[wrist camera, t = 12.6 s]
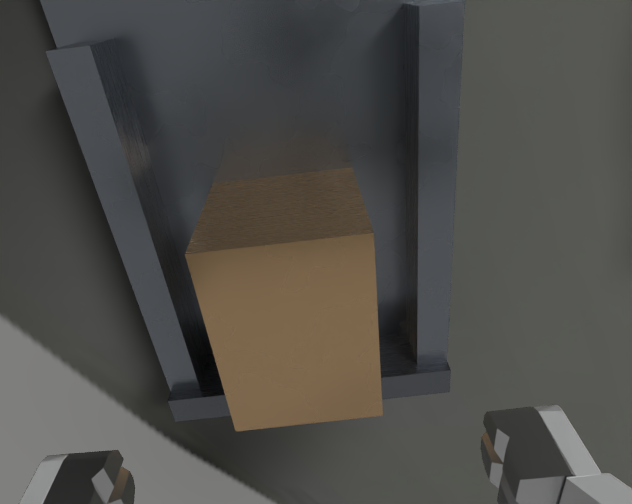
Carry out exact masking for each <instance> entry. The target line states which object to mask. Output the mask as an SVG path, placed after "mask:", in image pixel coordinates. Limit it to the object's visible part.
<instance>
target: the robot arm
mask: <svg viewBox="0 0 632 504" xmlns="http://www.w3.org/2000/svg"><path fill="white" fill-rule="evenodd" d="M483 424H484V426H485V428H486V431H487V432H485V433H484V434H483V435H482V437H481V452H482V459H483V463H484V467H485V470H486V473H487V476H488V478H489V481H490V482H492V483H493V484H494V485H495V486H496V487H498V488H499V491H498V498H497V502H498V504H632V489H631V488H630V487H629V486H627V485H626V484H624V483H623V482H621V481H620V480H618V479H617V478H616V477H614V476H613V475H611V474H610V473H601V472H600V470H599V468H598V467H597V465H596V463H595V462H594V460H593V459H592V457H591V455H590V454H589V452H588V451H587V449H586V447H585V446H584V444H583V442H582V441H581V439H580V438H579V436H578V434H577V433H576V431H575V429H574V428H573V426H572V425H571V423H570V421H569V420H568V418H567V417H566V415H565V413H564V412H563V410H562V409H561V408H560V407H559V406H558V405H547V406H538V407H523V408H515V409H506V410H497V411H489V412H486V414H485V415H484V421H483ZM122 462H123V457H122V456H121V454H120V452H119V451H118V450H112V451H99V452H87V453H74V454H61V455H51V456H47V457H46V458H45V459H44V460H43V461H42V462H41V463H40V464H39V466H38V468H37V470H36V472H35V474H34V476H33V478H32V480H31V482H30V483H29V485H28V487H27V489H26V491H25V493H24V495H23V497H22V499H21V501H20V503H19V504H134V494H135V485H134V480H133V477H132V475H131V473H130V471H128V470H126V469H124V468H123V467H121V465H122Z"/></svg>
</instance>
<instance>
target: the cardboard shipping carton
mask: <svg viewBox="0 0 632 504" xmlns="http://www.w3.org/2000/svg"><path fill="white" fill-rule="evenodd" d="M185 257H186V260H187V264H188V267H189V271H190V274H191V278H192V281H193V285H194V288H195V292H196V295H197V299H198V302H199V306H200V309H201V313H202V316H203V320H204V323H205V327H206V330H207V334H208V337H209V341H210V344H211V347H212V351H213V354H214V358H215V361H216V365H217V368H218V372H219V375H220V379H221V382H222V386H223V389H224V393H225V396H226V400H227V403H228V407H229V410H230V414H231V417H232V421H233V424H234V428H235V431H245V430H255V429H264V428H273V427H282V426H291V425H301V424H310V423H319V422H328V421H337V420H347V419H356V418H365V417H374V416H383V412H382V391H381V370H380V349H379V329H378V308H377V287H376V266H375V245H374V232H373V229H372V226H371V223H370V220H369V216H368V213H367V210H366V207H365V204H364V201H363V198H362V195H361V192H360V189H359V186H358V183H357V180H356V177H355V174H354V171H353V168H344V169H335V170H327V171H318V172H309V173H301V174H292V175H283V176H275V177H266V178H258V179H249V180H240V181H232V182H223V183H215V184H212V187H211V189H210V192H209V194H208V197H207V200H206V202H205V205H204V207H203V210H202V212H201V215H200V217H199V220H198V222H197V225H196V227H195V230H194V232H193V235H192V237H191V240H190V243H189V245H188V248H187V250H186V253H185Z"/></svg>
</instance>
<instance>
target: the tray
mask: <svg viewBox="0 0 632 504" xmlns="http://www.w3.org/2000/svg"><path fill="white" fill-rule="evenodd" d="M40 2H41V5H42V7H43V10H44V13H45V16H46V19H47V21H48V24H49V27H50V30H51V33H52V35H53V38H54V41H55V44H56V47H57V48H55V49H51V50H47V51H45V52H46V55H47V57H48V60H49V63H50V65H51V68H52V71H53V74H54V76H55V79H56V82H57V85H58V87H59V90H60V93H61V95H62V98H63V101H64V104H65V106H66V109H67V112H68V114H69V117H70V120H71V123H72V125H73V128H74V131H75V133H76V136H77V139H78V142H79V144H80V147H81V150H82V152H83V155H84V158H85V161H86V163H87V166H88V169H89V171H90V174H91V177H92V180H93V182H94V185H95V188H96V190H97V193H98V196H99V199H100V201H101V204H102V207H103V209H104V212H105V215H106V218H107V220H108V223H109V226H110V228H111V231H112V234H113V237H114V239H115V242H116V245H117V247H118V250H119V253H120V256H121V258H122V261H123V264H124V266H125V269H126V272H127V275H128V277H129V280H130V283H131V285H132V288H133V291H134V294H135V296H136V299H137V302H138V304H139V307H140V310H141V313H142V315H143V318H144V321H145V323H146V326H147V329H148V332H149V334H150V337H151V340H152V342H153V345H154V348H155V351H156V353H157V356H158V359H159V362H160V364H161V367H162V370H163V372H164V375H165V378H166V381H167V383H168V386H169V389H170V391H171V392H170V395H169V399H168V403H169V406H170V409H171V411H172V414H173V416H174V419H175V422H179V421H188V420H197V419H206V418H216V417H225V416H231V414H230V410H229V407H228V403H227V400H226V396H225V393H224V389H223V386H222V382H221V379H220V375H219V372H218V368H217V365H216V361H215V358H214V354H213V351H212V347H211V344H210V341H209V337H208V334H207V330H206V327H205V323H204V320H203V316H202V313H201V309H200V306H199V302H198V299H197V295H196V292H195V288H194V285H193V281H192V278H191V274H190V271H189V267H188V264H187V260H186V257H185V253H186V250H187V248H188V245H189V243H190V240H191V237H192V235H193V232H194V230H195V227H196V225H197V222H198V220H199V217H200V215H201V212H202V210H203V207H204V205H205V202H206V200H207V197H208V194H209V192H210V189H211V187H212V184H215V183H223V182H232V181H240V180H249V179H258V178H266V177H275V176H283V175H292V174H301V173H309V172H318V171H327V170H335V169H344V168H353V171H354V174H355V177H356V180H357V183H358V186H359V189H360V192H361V195H362V198H363V201H364V204H365V207H366V210H367V213H368V216H369V220H370V223H371V226H372V229H373V232H374V245H375V266H376V287H377V308H378V329H379V349H380V370H381V391H382V399H390V398H399V397H408V396H418V395H427V394H436V393H445V392H450V374H451V370H450V367H449V365H448V362H447V352H448V332H449V311H450V291H451V271H452V251H453V231H454V210H455V190H456V170H457V150H458V130H459V110H460V89H461V69H462V49H463V29H464V9H465V1H464V0H40Z"/></svg>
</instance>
